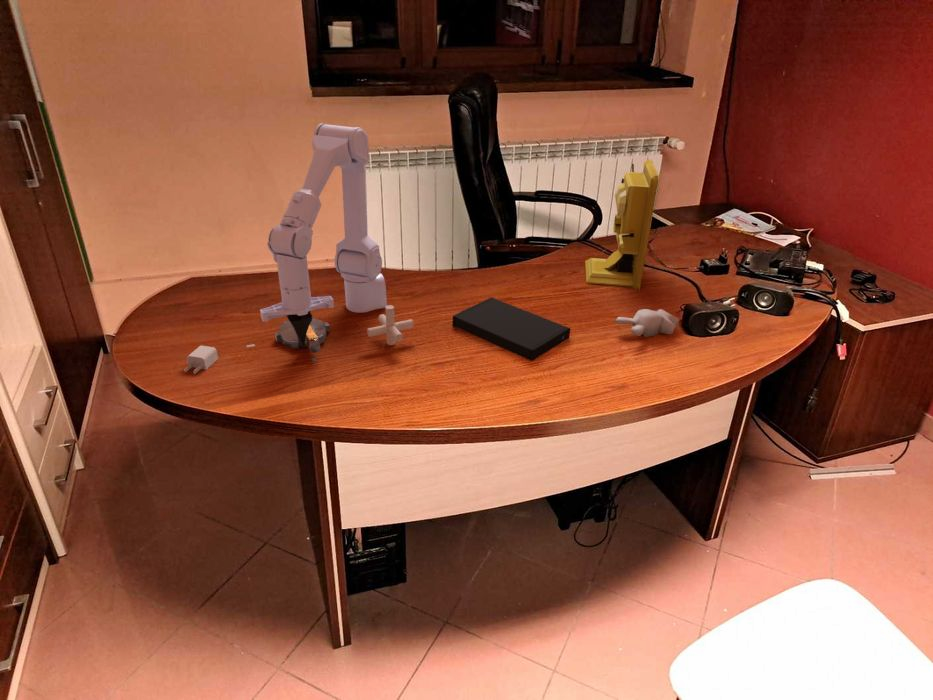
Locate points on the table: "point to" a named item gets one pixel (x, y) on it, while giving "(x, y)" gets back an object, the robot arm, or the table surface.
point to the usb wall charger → (201, 358)
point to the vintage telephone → (628, 231)
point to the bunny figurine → (650, 322)
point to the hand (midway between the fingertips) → (301, 343)
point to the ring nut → (313, 335)
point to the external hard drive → (511, 328)
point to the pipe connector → (390, 326)
